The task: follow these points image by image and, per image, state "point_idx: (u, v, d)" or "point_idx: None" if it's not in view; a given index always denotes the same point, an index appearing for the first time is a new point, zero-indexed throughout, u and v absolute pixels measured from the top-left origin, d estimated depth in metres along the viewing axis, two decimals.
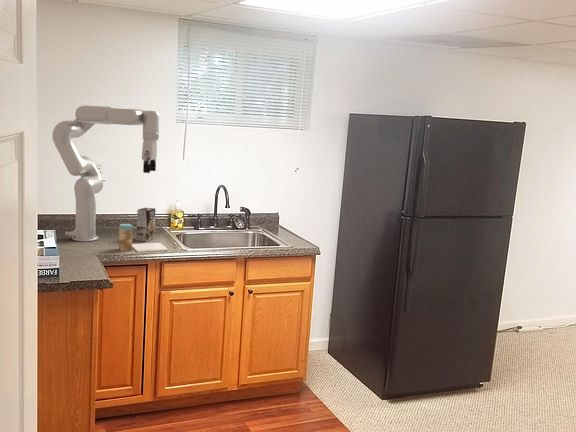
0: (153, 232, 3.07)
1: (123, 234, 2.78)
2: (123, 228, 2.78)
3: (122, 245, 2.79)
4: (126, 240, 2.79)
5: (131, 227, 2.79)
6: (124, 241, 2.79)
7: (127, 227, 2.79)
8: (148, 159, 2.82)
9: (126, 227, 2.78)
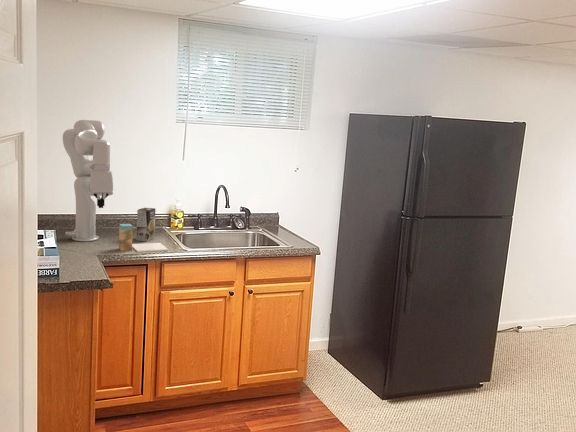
0: (153, 232, 3.07)
1: (123, 234, 2.78)
2: (123, 228, 2.78)
3: (122, 245, 2.79)
4: (126, 240, 2.79)
5: (131, 227, 2.79)
6: (124, 241, 2.79)
7: (127, 227, 2.79)
8: None
9: (126, 227, 2.78)
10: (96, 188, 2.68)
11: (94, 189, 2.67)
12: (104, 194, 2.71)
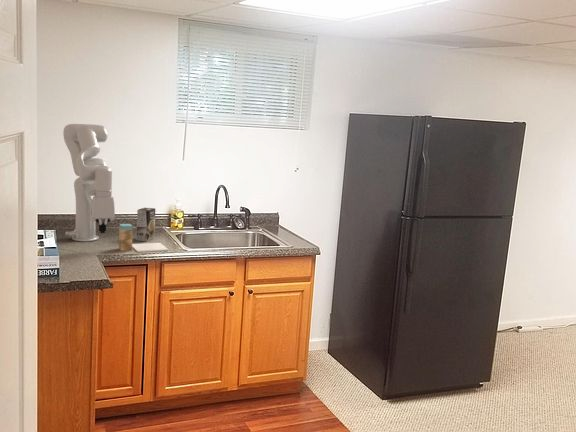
0: (153, 232, 3.07)
1: (123, 234, 2.78)
2: (123, 228, 2.78)
3: (122, 245, 2.79)
4: (126, 240, 2.79)
5: (131, 227, 2.79)
6: (124, 241, 2.79)
7: (127, 227, 2.79)
8: None
9: (126, 227, 2.78)
10: (98, 214, 2.71)
11: (96, 215, 2.70)
12: (106, 219, 2.74)
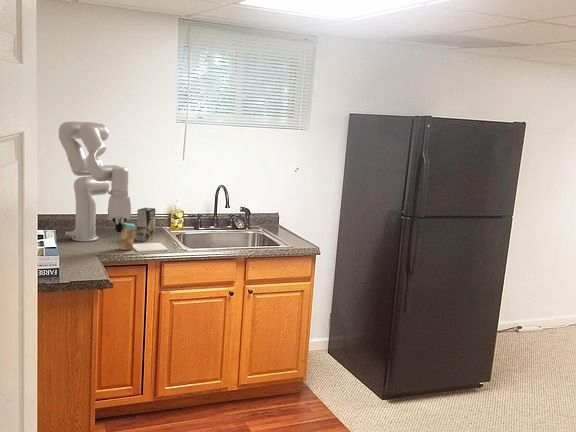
0: (153, 232, 3.07)
1: (125, 233, 2.79)
2: (126, 227, 2.78)
3: (123, 244, 2.79)
4: (128, 239, 2.80)
5: (134, 227, 2.80)
6: (125, 240, 2.79)
7: (130, 226, 2.79)
8: None
9: (129, 226, 2.79)
10: (115, 213, 2.74)
11: (113, 214, 2.74)
12: (122, 219, 2.78)
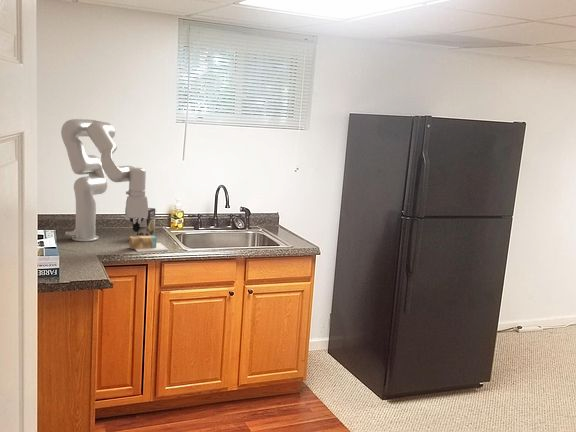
0: (153, 232, 3.07)
1: (148, 239, 2.85)
2: (154, 239, 2.86)
3: (137, 239, 2.82)
4: (142, 242, 2.83)
5: (154, 246, 2.87)
6: (141, 240, 2.83)
7: (154, 242, 2.86)
8: None
9: (155, 241, 2.86)
10: (132, 213, 2.78)
11: (130, 214, 2.78)
12: (139, 219, 2.82)
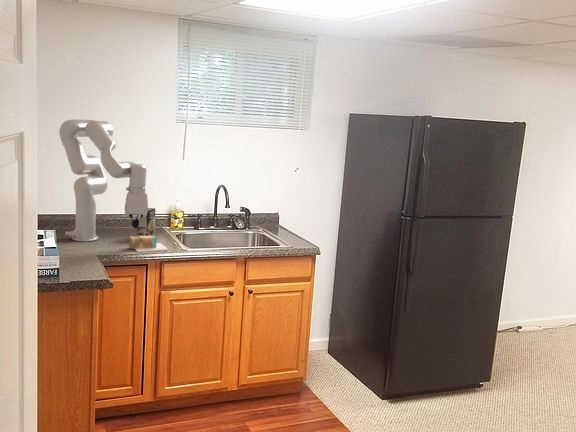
0: (153, 232, 3.07)
1: (148, 239, 2.85)
2: (154, 239, 2.86)
3: (137, 239, 2.82)
4: (142, 242, 2.83)
5: (154, 246, 2.87)
6: (141, 240, 2.83)
7: (154, 242, 2.86)
8: None
9: (155, 241, 2.86)
10: (132, 209, 2.78)
11: (130, 210, 2.78)
12: (139, 215, 2.82)
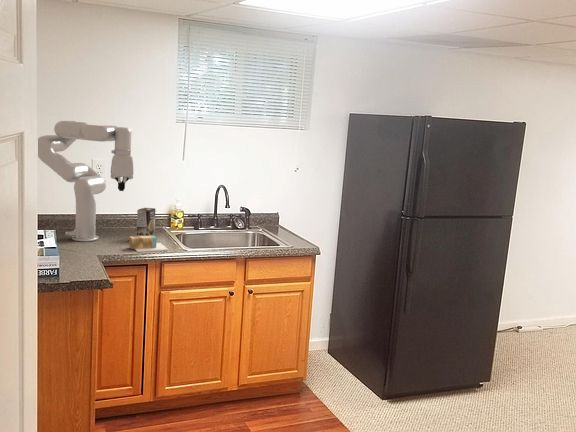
0: (153, 232, 3.07)
1: (148, 239, 2.85)
2: (154, 239, 2.86)
3: (137, 239, 2.82)
4: (142, 242, 2.83)
5: (154, 246, 2.87)
6: (141, 240, 2.83)
7: (154, 242, 2.86)
8: None
9: (155, 241, 2.86)
10: (117, 172, 2.82)
11: (116, 173, 2.82)
12: (125, 178, 2.86)
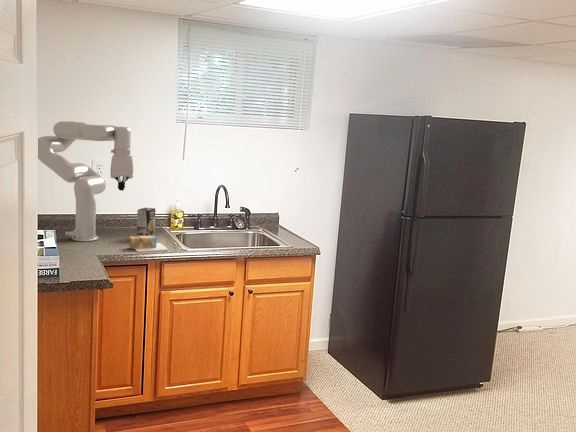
0: (153, 232, 3.07)
1: (148, 239, 2.85)
2: (154, 239, 2.86)
3: (137, 239, 2.82)
4: (142, 242, 2.83)
5: (154, 246, 2.87)
6: (141, 240, 2.83)
7: (154, 242, 2.86)
8: None
9: (155, 241, 2.86)
10: (117, 171, 2.82)
11: (115, 172, 2.82)
12: (125, 177, 2.86)
